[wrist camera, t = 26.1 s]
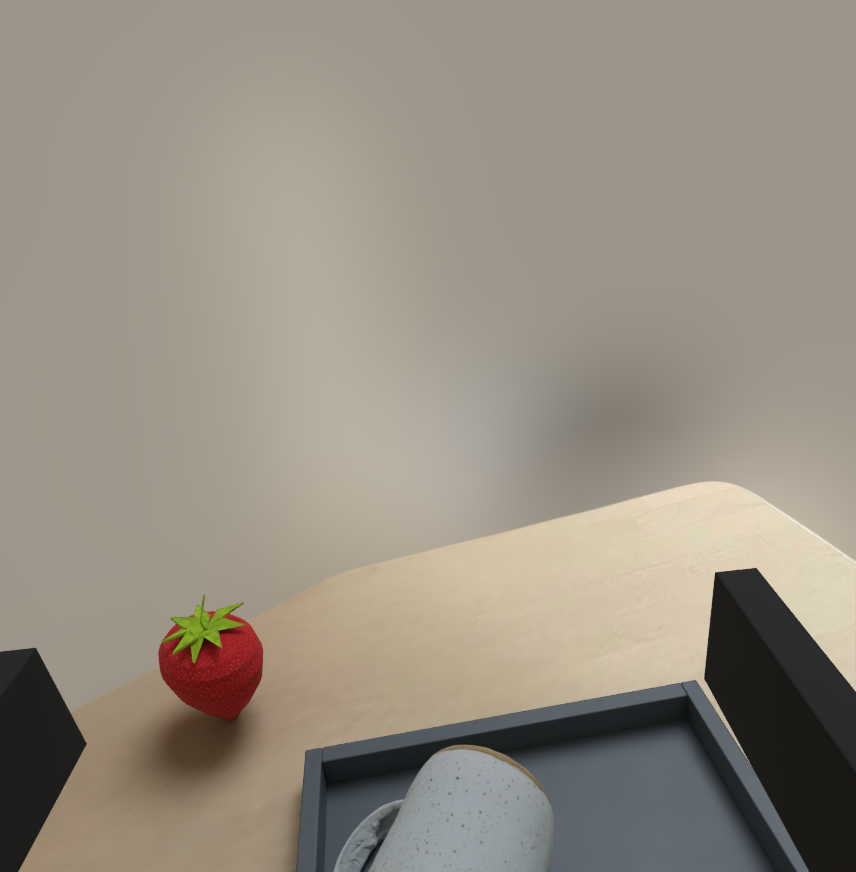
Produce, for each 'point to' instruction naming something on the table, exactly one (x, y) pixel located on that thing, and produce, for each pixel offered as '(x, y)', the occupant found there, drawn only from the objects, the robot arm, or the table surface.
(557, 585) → the table surface
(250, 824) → the table surface
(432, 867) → the ceramic mug
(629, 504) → the table surface
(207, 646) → the strawberry
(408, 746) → the shallow grey tray
